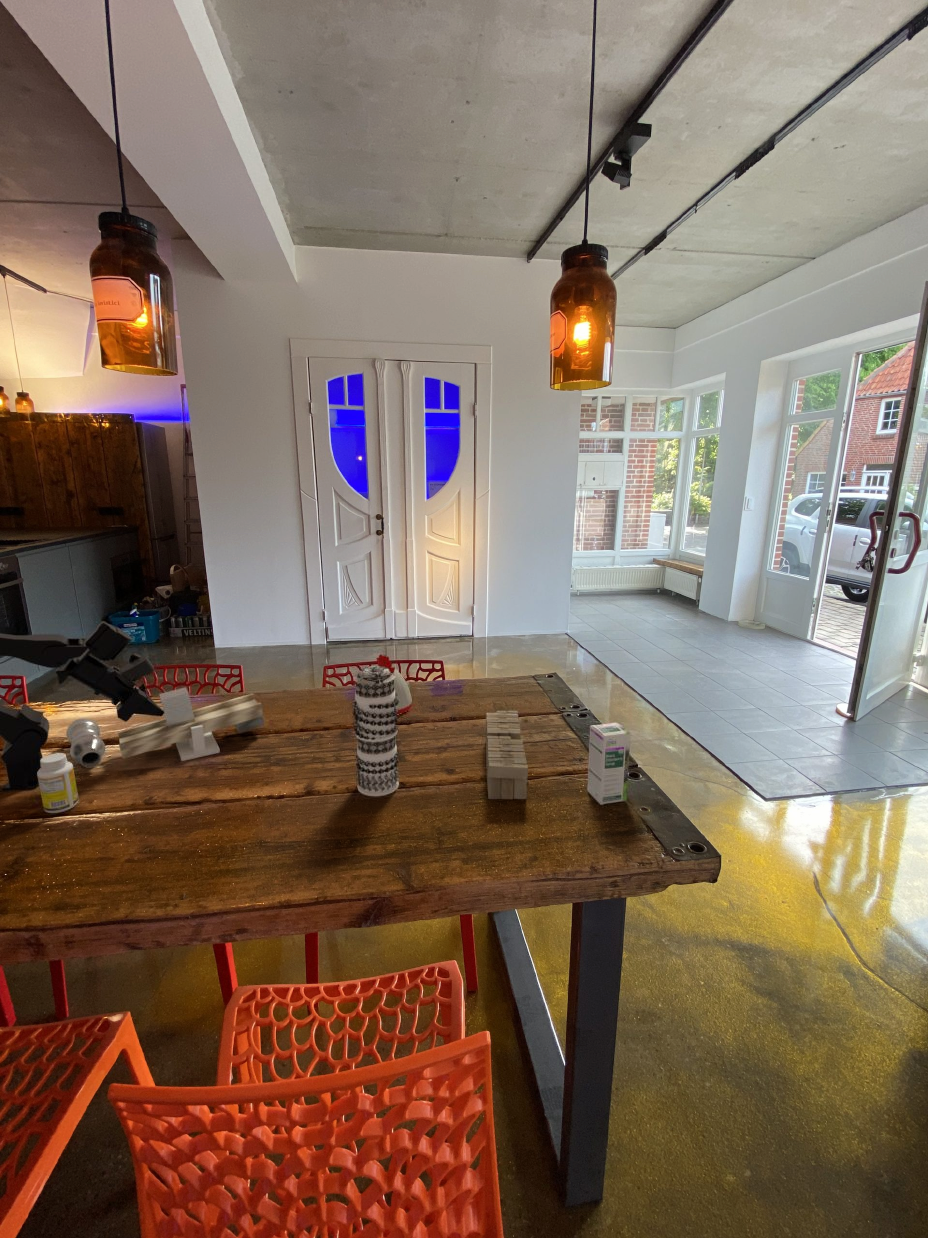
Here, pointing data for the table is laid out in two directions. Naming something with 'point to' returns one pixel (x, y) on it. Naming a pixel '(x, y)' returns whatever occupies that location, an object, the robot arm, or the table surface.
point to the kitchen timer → (398, 685)
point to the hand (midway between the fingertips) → (162, 714)
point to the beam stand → (197, 744)
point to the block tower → (505, 756)
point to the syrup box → (608, 763)
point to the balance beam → (212, 718)
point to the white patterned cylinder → (376, 731)
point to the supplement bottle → (57, 783)
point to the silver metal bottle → (85, 742)
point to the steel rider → (177, 707)
